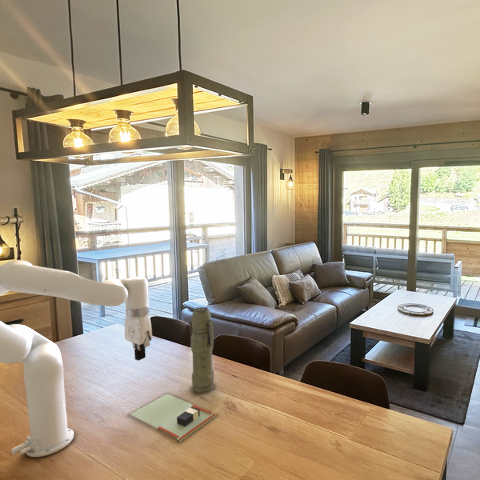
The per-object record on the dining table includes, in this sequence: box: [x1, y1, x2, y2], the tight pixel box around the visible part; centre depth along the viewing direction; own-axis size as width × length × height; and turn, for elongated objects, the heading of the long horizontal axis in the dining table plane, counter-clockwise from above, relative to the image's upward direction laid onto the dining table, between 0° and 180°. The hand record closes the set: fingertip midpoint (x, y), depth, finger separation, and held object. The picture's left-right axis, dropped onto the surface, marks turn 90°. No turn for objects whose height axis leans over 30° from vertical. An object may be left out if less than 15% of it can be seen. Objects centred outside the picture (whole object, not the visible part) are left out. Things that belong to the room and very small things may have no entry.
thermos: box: [189, 306, 215, 394], centre depth 146 cm, size 9×12×35 cm
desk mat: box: [130, 393, 217, 442], centre depth 129 cm, size 16×28×1 cm, turn 61°
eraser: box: [177, 407, 200, 427], centre depth 126 cm, size 7×4×3 cm, turn 155°
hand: (140, 358), depth 129 cm, fingers closed
